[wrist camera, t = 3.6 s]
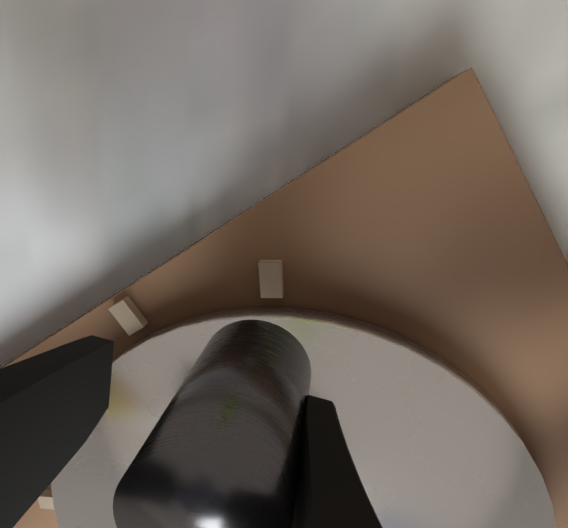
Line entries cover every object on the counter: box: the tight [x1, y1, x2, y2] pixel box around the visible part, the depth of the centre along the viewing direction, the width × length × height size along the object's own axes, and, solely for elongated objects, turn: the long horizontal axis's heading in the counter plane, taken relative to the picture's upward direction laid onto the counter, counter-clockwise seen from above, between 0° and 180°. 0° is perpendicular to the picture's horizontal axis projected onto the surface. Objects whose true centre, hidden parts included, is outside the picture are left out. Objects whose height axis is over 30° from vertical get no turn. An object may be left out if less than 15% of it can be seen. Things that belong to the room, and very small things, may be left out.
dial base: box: [0, 68, 568, 528], centre depth 14 cm, size 19×22×2 cm
